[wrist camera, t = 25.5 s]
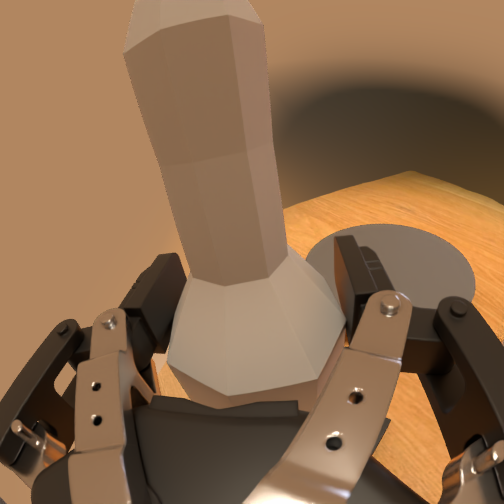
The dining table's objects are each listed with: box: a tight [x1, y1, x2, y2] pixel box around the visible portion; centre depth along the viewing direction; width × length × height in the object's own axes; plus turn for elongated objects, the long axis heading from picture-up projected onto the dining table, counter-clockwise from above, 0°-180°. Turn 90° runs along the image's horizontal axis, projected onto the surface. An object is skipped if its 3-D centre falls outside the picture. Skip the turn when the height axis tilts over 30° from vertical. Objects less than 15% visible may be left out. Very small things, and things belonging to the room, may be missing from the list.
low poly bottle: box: [123, 0, 346, 412], centre depth 10 cm, size 6×6×22 cm
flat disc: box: [306, 224, 475, 309], centre depth 39 cm, size 28×28×4 cm
